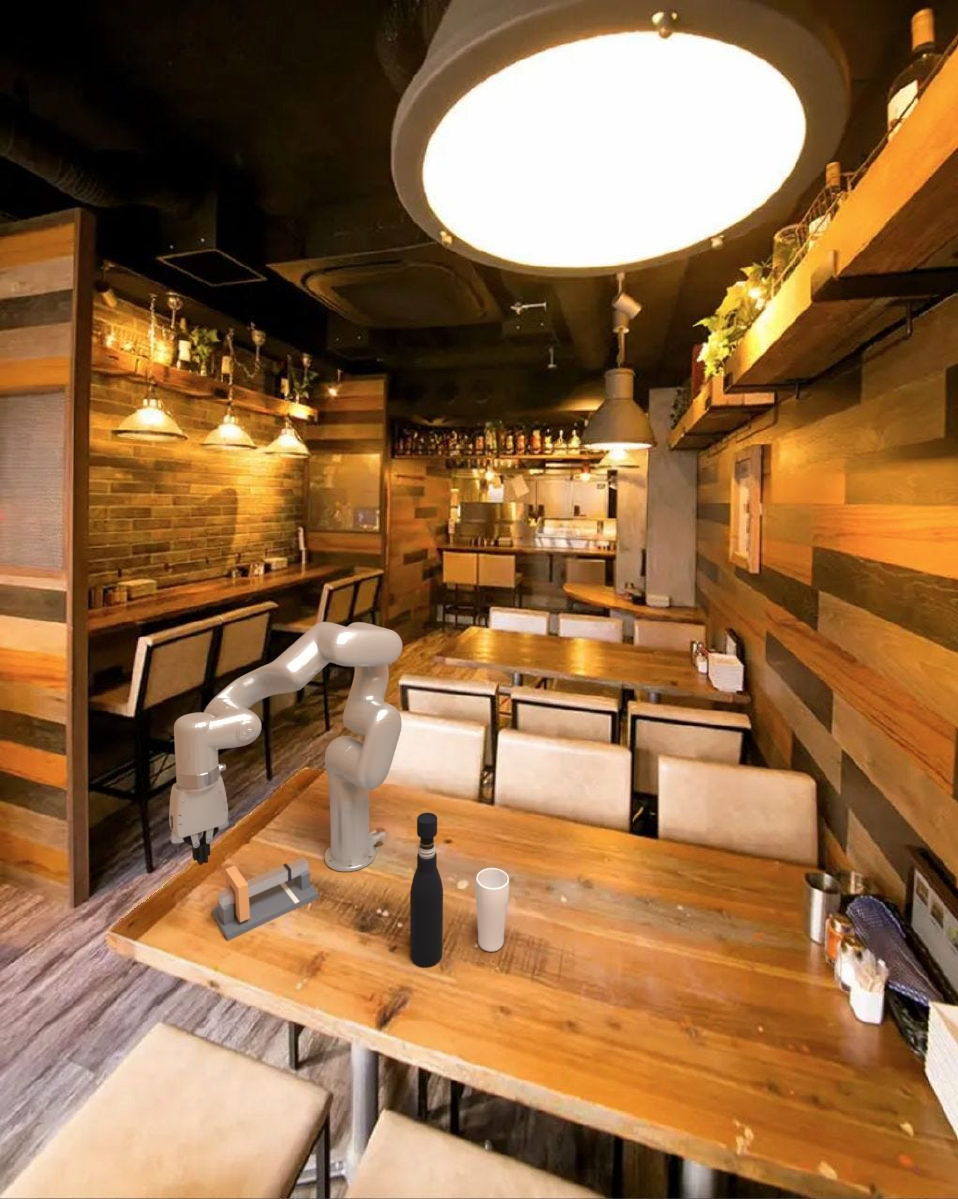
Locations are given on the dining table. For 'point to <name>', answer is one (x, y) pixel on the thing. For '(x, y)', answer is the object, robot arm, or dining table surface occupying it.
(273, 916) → the pipe board
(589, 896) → the dining table surface
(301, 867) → the grey long bar
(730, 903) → the dining table surface
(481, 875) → the drinking glass
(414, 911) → the black bottle
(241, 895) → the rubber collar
